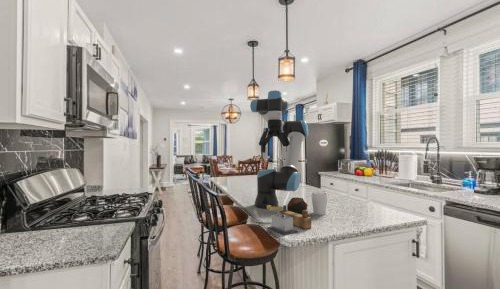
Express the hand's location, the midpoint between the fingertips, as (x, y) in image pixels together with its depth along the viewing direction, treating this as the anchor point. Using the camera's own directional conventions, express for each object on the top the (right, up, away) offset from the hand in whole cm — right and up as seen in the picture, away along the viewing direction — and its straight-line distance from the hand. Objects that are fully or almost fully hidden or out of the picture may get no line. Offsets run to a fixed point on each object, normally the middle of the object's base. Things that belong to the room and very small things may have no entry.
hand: (274, 158), depth 143 cm
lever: (-1, -26, -6) cm, 27 cm away
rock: (+12, -32, +2) cm, 34 cm away
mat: (+1, -32, -22) cm, 39 cm away
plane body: (+8, -32, -13) cm, 36 cm away
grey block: (+1, -31, -22) cm, 39 cm away
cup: (+26, -32, +6) cm, 42 cm away
